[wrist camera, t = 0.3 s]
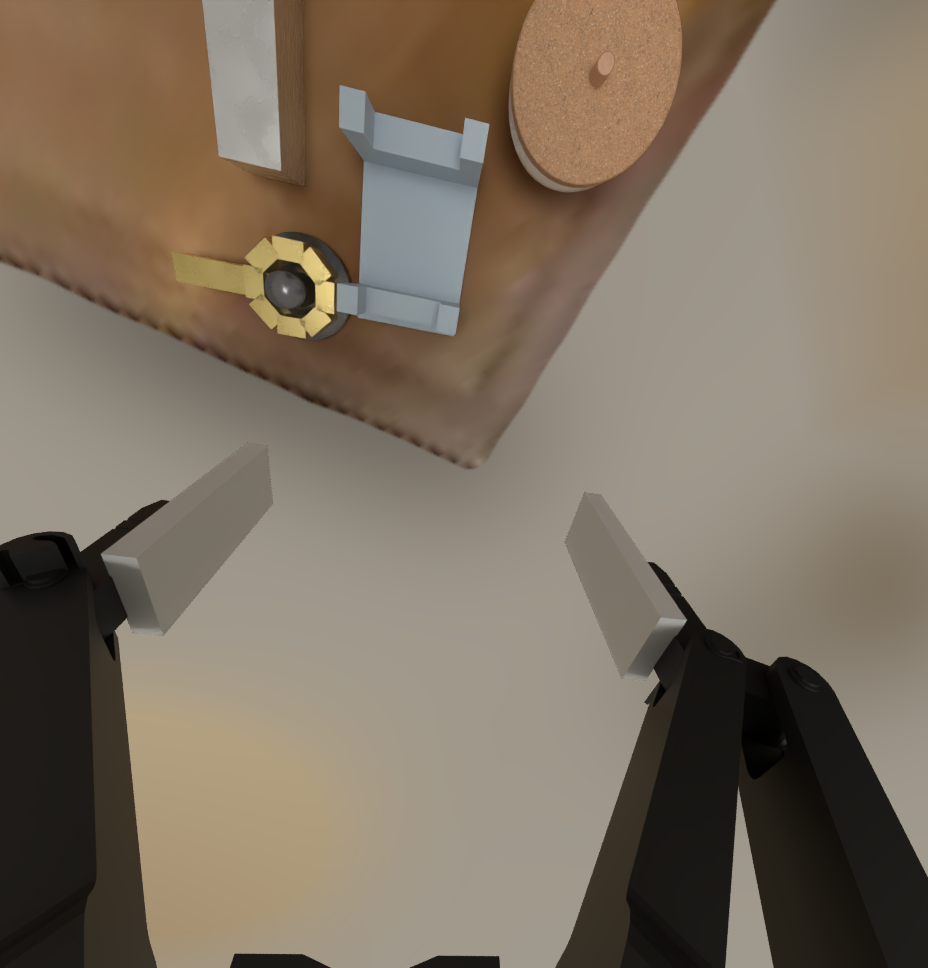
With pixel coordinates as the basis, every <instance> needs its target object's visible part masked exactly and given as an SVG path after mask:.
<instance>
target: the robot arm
mask: <svg viewBox="0 0 928 968" xmlns="http://www.w3.org/2000/svg"><path fill="white" fill-rule="evenodd" d="M272 504H273V498H272V487H271V477H270V467H269V456H268V446H267V445H262V444H255V443H248V442H247V443H246V444H244V445H243V446H242V447H240V448H239V449H238V450H236V451H235V452H234V453H233V454H231V455H230V456H229V457H227V458H226V459H225V460H223V461H222V462H221V463H219V464H218V465H217V466H215V467H214V468H213V469H212V470H210V471H209V472H208V473H206V474H205V475H204V476H202V477H201V478H200V479H199V480H197V481H196V482H194V483H193V484H192V485H191V486H189V487H188V488H187V489H185V490H184V491H183V492H181V493H180V494H179V495H178V496H176V497H175V498H173V499H172V500H171V501H166V500H160V501H158V502H156V503H153V504H151V505H148V506H146V507H143V508H141V509H140V510H139V511H137V512H136V513H135V514H133V515H132V516H130V517H129V518H128V520H127V521H126V520H125V521H123V522H122V523H120V524H119V525H118V526H116V528H115V529H112V530H111V531H109V532H108V533H106V534H105V535H104V536H102V537H101V538H100V539H98V540H97V541H95V542H94V543H92V544H91V545H90V546H88V547H87V548H86V549H84V550H83V551H81V552H80V551H79V548H78V546H77V544H76V542H75V540H74V538H73V536H72V535H70V534H67V533H64V532H42V533H34V534H30V535H26V536H23V537H19V538H16V539H13V540H11V541H9V542H6V543H4V544H2V545H0V968H157V966H156V961H155V958H154V955H153V951H152V948H151V945H150V941H149V936H148V931H147V923H146V914H145V903H144V893H143V883H142V873H141V864H140V853H139V843H138V834H137V825H136V814H135V803H134V793H133V783H132V773H131V763H130V754H129V744H128V733H127V723H126V713H125V703H124V693H123V683H122V673H121V663H120V653H119V643H118V637H117V635H116V633H115V630H116V629H117V628H118V626H119V625H120V624H121V623H122V622H123V621H124V620H125V619H126V618H127V620H128V623H129V625H130V628H131V630H132V632H133V633H136V634H147V635H158V636H164V635H165V633H166V632H167V631H168V630H169V629H170V627H171V626H172V625H173V624H174V623H175V621H176V620H177V619H178V618H179V617H180V615H181V614H182V613H183V612H184V610H185V609H186V608H187V607H188V606H189V604H190V603H191V602H192V601H193V600H194V599H195V597H196V596H197V595H198V594H199V592H200V591H201V590H202V589H203V588H204V586H205V585H206V584H207V583H208V582H209V580H210V579H211V578H212V577H213V576H214V574H215V573H216V572H217V571H218V569H219V568H220V567H221V566H222V565H223V564H224V562H225V561H226V560H227V559H228V557H229V556H230V555H231V554H232V553H233V551H234V550H235V549H236V548H237V547H238V545H239V544H240V543H241V542H242V541H243V539H244V538H245V537H246V536H247V535H248V533H249V532H250V531H251V530H252V528H253V527H254V526H255V525H256V524H257V523H258V521H259V520H260V519H261V518H262V517H263V515H264V514H265V513H266V512H267V511H268V509H269V508H270V507H271V506H272ZM565 544H566V547H567V549H568V552H569V554H570V556H571V558H572V561H573V563H574V566H575V568H576V571H577V573H578V575H579V578H580V580H581V583H582V585H583V587H584V590H585V592H586V595H587V597H588V599H589V602H590V604H591V607H592V609H593V611H594V614H595V616H596V618H597V621H598V623H599V626H600V628H601V630H602V633H603V635H604V638H605V640H606V643H607V645H608V647H609V649H610V652H611V655H612V657H613V659H614V662H615V664H616V666H617V669H618V671H619V673H620V676H621V678H622V679H628V680H639V681H645V680H646V679H647V677H648V676H649V675H650V673H651V672H652V670H653V669H654V670H655V672H656V674H657V676H658V678H659V680H660V681H659V683H658V684H657V685H656V687H655V688H654V690H653V691H652V692H651V694H650V695H649V696H648V698H647V699H646V701H645V703H646V704H649V703H650V704H649V707H648V710H647V713H646V715H645V718H644V721H643V724H642V727H641V730H640V734H639V736H638V739H637V742H636V746H635V748H634V752H633V754H632V758H631V761H630V763H629V766H628V769H627V772H626V775H625V778H624V781H623V784H622V787H621V790H620V793H619V796H618V799H617V802H616V805H615V808H614V811H613V814H612V817H611V820H610V823H609V826H608V828H607V831H606V835H605V837H604V841H603V843H602V846H601V850H600V852H599V856H598V858H597V861H596V864H595V867H594V870H593V874H592V876H591V879H590V882H589V885H588V888H587V891H586V894H585V897H584V900H583V903H582V906H581V909H580V912H579V915H578V918H577V921H576V924H575V927H574V930H573V932H572V935H571V938H570V940H569V942H568V945H567V947H566V949H565V951H564V953H563V954H562V956H561V958H560V960H559V961H558V963H557V966H556V968H725V962H726V948H727V934H728V920H729V907H730V906H729V905H730V892H731V878H732V863H733V849H734V837H735V836H734V835H735V823H736V809H737V794H738V787H739V792H740V797H741V802H742V807H743V812H744V817H745V822H746V827H747V833H748V838H749V843H750V848H751V853H752V859H753V864H754V869H755V874H756V879H757V884H758V889H759V894H760V899H761V905H762V910H763V915H764V920H765V925H766V930H767V936H768V941H769V945H770V951H771V956H772V961H773V966H774V968H928V877H927V875H926V873H925V871H924V869H923V867H922V865H921V863H920V861H919V859H918V857H917V855H916V853H915V851H914V849H913V847H912V845H911V843H910V841H909V839H908V837H907V835H906V833H905V831H904V829H903V827H902V825H901V823H900V822H899V819H898V817H897V815H896V813H895V812H894V810H893V808H892V805H891V803H890V801H889V799H888V798H887V795H886V794H885V792H884V790H883V787H882V786H881V784H880V782H879V780H878V778H877V776H876V774H875V772H874V770H873V768H872V766H871V764H870V762H869V760H868V758H867V756H866V754H865V752H864V750H863V748H862V746H861V744H860V742H859V740H858V738H857V736H856V734H855V732H854V730H853V728H852V726H851V724H850V722H849V720H848V718H847V716H846V714H845V712H844V710H843V708H842V706H841V704H840V702H839V700H838V698H837V696H836V694H835V692H834V691H833V689H832V688H831V686H830V685H829V683H827V682H826V680H825V679H823V678H822V677H821V676H820V674H819V673H817V672H816V671H815V670H813V669H812V668H811V667H809V666H807V665H805V664H803V663H801V662H799V661H797V660H795V659H792V658H789V657H779V658H778V659H777V660H776V661H775V662H774V663H773V664H772V665H771V666H768V665H765V664H762V663H760V662H757V661H754V660H751V659H748V658H746V657H745V656H744V655H743V653H742V652H741V650H740V649H739V648H738V647H737V646H736V645H735V644H734V643H733V642H732V641H731V640H729V639H728V638H726V637H725V636H723V635H722V634H720V633H717V632H715V631H713V630H709V629H706V627H705V626H704V624H703V623H702V622H701V620H700V619H699V618H698V616H697V615H696V614H695V612H694V611H693V609H692V608H691V606H690V605H689V604H688V602H687V601H686V600H685V598H684V597H683V596H681V593H680V591H679V590H678V588H677V587H675V585H674V583H673V582H672V580H671V579H670V577H669V576H668V575H667V573H666V572H664V571H663V570H662V569H661V568H660V567H659V566H657V565H656V564H655V563H652V562H647V561H646V559H645V558H644V557H643V555H642V554H641V552H640V551H639V549H638V548H637V546H636V545H635V543H634V542H633V541H632V539H631V538H630V536H629V535H628V533H627V532H626V530H625V529H624V527H623V526H622V524H621V523H620V521H619V520H618V519H617V517H616V516H615V514H614V513H613V511H612V510H611V509H610V507H609V505H608V504H607V502H606V501H605V500H604V498H603V497H602V495H600V494H593V493H586V492H584V494H583V497H582V500H581V502H580V505H579V507H578V510H577V512H576V515H575V517H574V520H573V523H572V525H571V528H570V530H569V532H568V535H567V538H566V540H565ZM499 962H500V961H499V956H436V957H434V958H432V959H429V960H427V961H425V962H422V963H420V964H418V965H415V966H413V967H410V968H500V963H499ZM230 968H330V967H328V966H326V965H324V964H322V963H320V962H318V961H316V960H314V959H312V958H310V957H307V956H305V955H303V954H234V957H233V961H232V963H231V966H230Z"/></svg>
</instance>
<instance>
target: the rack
mask: <svg viewBox="0 0 928 968" xmlns="http://www.w3.org/2000/svg"><path fill="white" fill-rule="evenodd" d="M339 128H340V129H341V131H342V132H343V133H344V135H345V136H346V137H347V139H348V140H349V141H350V143H351V144H352V146H353V147H354V148H355V150H356V151H357V152H358V154H359V155H360V156H361V158H362V159H363V160H364V170H363V195H362V221H361V247H360V273H359V283H337V311H338V312H343V313H348V314H353V315H358V318H362V319H367V320H372V321H378V322H383V323H388V324H393V325H398V326H403V327H408V328H413V329H418V330H424V331H429V332H434V333H439V334H444V335H449V336H454V334H456V328H457V322H458V315H459V309H460V307H459V301H460V295H461V288H462V282H463V276H464V270H465V263H466V257H467V251H468V245H469V238H470V232H471V226H472V219H473V213H474V207H475V201H476V194H477V188H478V184H479V179H480V175H481V170H482V166H483V160H484V154H485V148H486V142H487V136H488V129H489V124H487V123H483V122H480V121H476V120H472V119H468V118H465V124H464V131H463V134H460V133H456V132H452V131H448V130H444V129H440V128H437V127H433V126H429V125H425V124H421V123H417V122H413V121H409V120H405V119H402V118H398V117H394V116H390V115H386V114H382V113H378V112H375V111H374V109H373V107H372V104H371V102H370V100H369V98H368V96H367V94H366V92H365V91H361V90H357V89H354V88H350V87H346V86H342V85H340V93H339Z"/></svg>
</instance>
